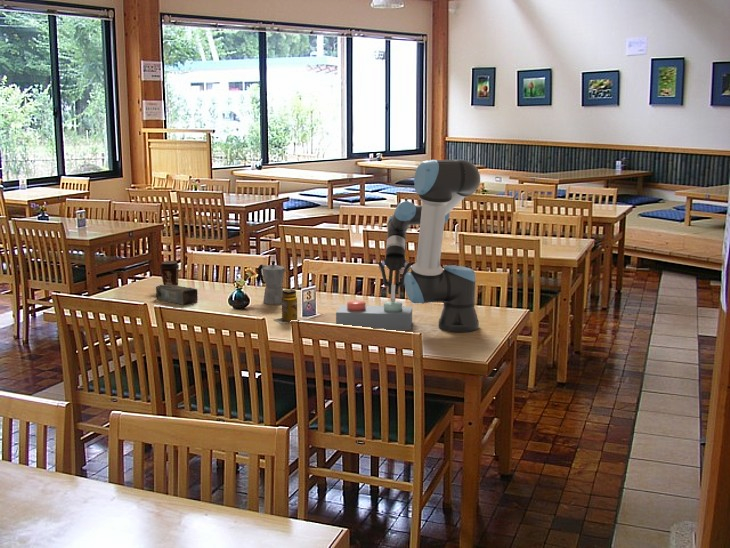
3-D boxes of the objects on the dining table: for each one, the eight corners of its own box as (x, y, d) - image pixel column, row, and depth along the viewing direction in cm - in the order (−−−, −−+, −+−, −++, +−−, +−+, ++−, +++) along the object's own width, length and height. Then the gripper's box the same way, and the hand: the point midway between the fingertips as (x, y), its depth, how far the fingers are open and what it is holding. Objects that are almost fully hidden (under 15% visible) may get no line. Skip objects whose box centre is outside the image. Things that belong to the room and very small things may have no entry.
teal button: (402, 321, 315) (402, 301, 314) (401, 326, 308) (401, 306, 307) (384, 321, 316) (384, 301, 314) (383, 326, 309) (383, 305, 308)
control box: (412, 321, 317) (412, 306, 316) (410, 329, 306) (410, 314, 305) (340, 319, 320) (340, 304, 319) (336, 327, 309) (336, 312, 308)
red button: (366, 320, 317) (366, 300, 315) (364, 325, 310) (364, 305, 308) (348, 320, 318) (348, 300, 316) (346, 325, 311) (346, 304, 309)
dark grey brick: (170, 296, 362) (169, 281, 360) (198, 302, 350) (198, 287, 349) (155, 299, 356) (154, 284, 354) (184, 306, 344) (183, 291, 343)
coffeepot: (293, 302, 350) (292, 260, 346) (278, 306, 342) (277, 264, 339) (266, 297, 359) (265, 257, 355) (251, 301, 351) (250, 260, 348)
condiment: (301, 321, 319) (301, 290, 317) (282, 324, 315) (281, 293, 312) (292, 317, 325) (292, 287, 323) (273, 320, 321) (272, 290, 318)
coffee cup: (161, 288, 377) (160, 260, 374) (180, 287, 378) (179, 260, 376) (160, 292, 368) (159, 264, 366) (179, 291, 370) (178, 263, 367)
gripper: (412, 255, 326) (410, 306, 314) (379, 255, 328) (376, 305, 315) (412, 244, 320) (409, 295, 307) (378, 244, 321) (375, 295, 309)
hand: (392, 300), depth 311 cm, fingers closed
